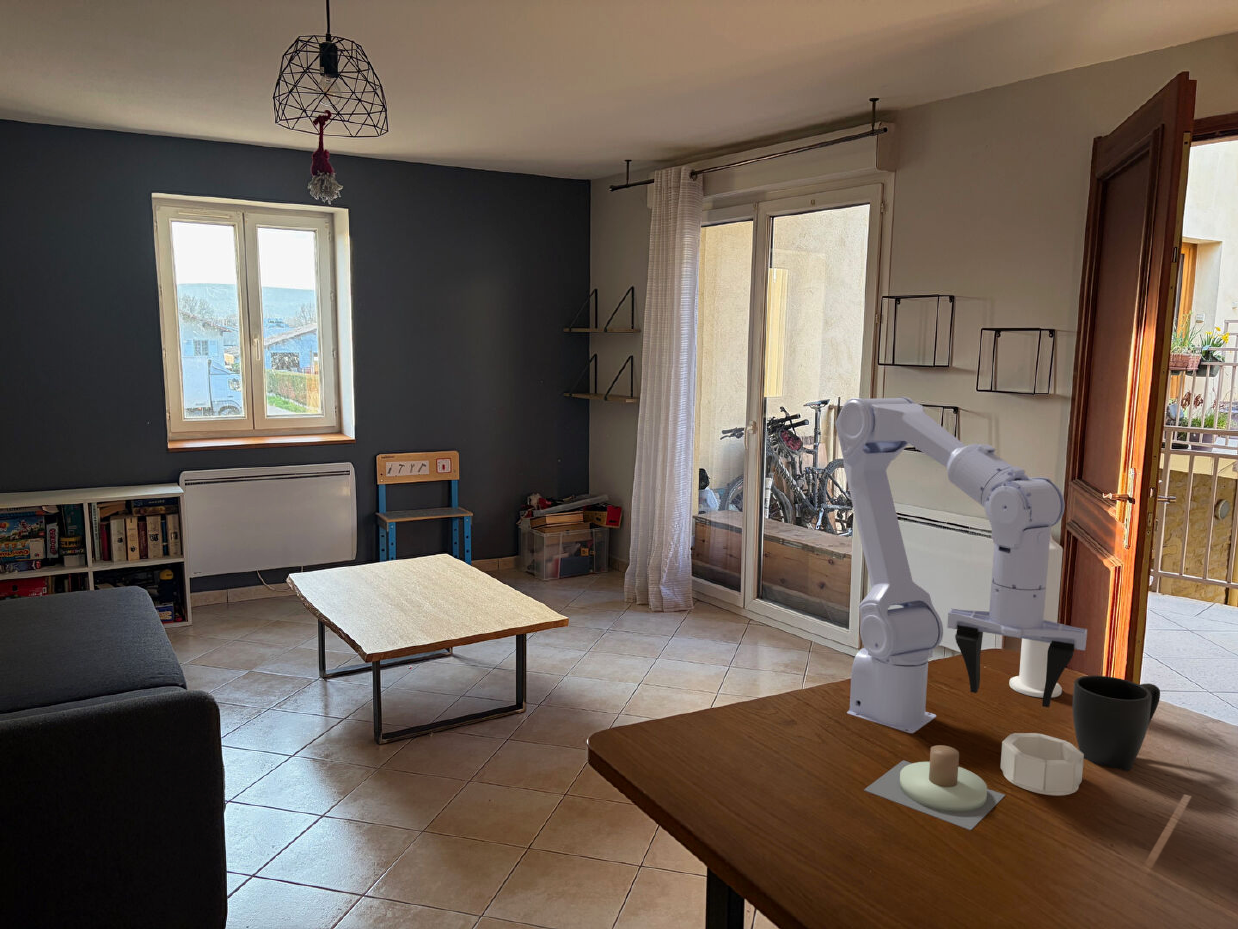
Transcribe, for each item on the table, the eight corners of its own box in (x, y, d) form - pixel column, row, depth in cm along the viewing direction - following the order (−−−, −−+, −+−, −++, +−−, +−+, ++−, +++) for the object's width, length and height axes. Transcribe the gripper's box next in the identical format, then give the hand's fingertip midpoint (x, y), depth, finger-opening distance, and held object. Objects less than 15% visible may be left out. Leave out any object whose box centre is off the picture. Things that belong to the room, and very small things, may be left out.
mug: (1183, 766, 106) (1190, 691, 105) (1110, 782, 102) (1117, 704, 101) (1123, 738, 114) (1129, 668, 112) (1053, 752, 109) (1058, 679, 108)
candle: (1057, 683, 132) (1070, 521, 129) (1065, 701, 126) (1078, 530, 123) (1007, 677, 135) (1018, 518, 131) (1011, 694, 128) (1023, 527, 125)
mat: (863, 794, 98) (863, 789, 98) (902, 765, 106) (903, 760, 106) (970, 835, 90) (970, 830, 90) (1005, 800, 98) (1005, 795, 97)
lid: (885, 791, 98) (887, 751, 97) (920, 763, 105) (922, 726, 104) (967, 821, 92) (970, 779, 91) (999, 790, 99) (1001, 751, 98)
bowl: (992, 782, 101) (994, 748, 101) (1016, 760, 107) (1018, 727, 107) (1066, 807, 96) (1069, 771, 96) (1087, 782, 102) (1090, 748, 101)
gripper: (945, 582, 100) (938, 695, 102) (1088, 602, 93) (1077, 723, 95) (956, 569, 106) (949, 676, 108) (1091, 586, 99) (1081, 701, 101)
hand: (1009, 697), depth 102 cm, fingers open, 7 cm apart
